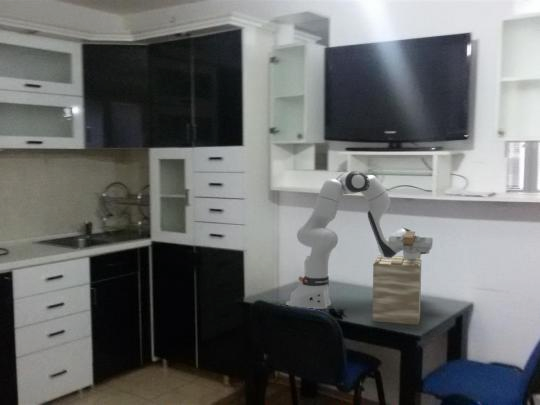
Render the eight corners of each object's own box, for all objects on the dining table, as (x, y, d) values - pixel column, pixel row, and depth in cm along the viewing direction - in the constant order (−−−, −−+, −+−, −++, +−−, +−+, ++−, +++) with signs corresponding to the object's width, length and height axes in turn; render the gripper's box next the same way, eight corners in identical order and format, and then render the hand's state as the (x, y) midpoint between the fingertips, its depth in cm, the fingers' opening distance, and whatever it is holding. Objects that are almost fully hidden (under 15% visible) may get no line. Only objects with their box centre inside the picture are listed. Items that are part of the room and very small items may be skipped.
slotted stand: (418, 324, 245) (419, 263, 243) (372, 320, 251) (373, 261, 249) (420, 314, 260) (421, 257, 258) (376, 311, 266) (377, 255, 264)
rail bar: (412, 246, 247) (412, 237, 247) (403, 245, 248) (403, 237, 248) (414, 239, 266) (415, 231, 266) (406, 239, 267) (406, 231, 267)
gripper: (390, 239, 279) (388, 228, 267) (432, 241, 273) (432, 230, 261) (389, 251, 276) (387, 241, 264) (432, 253, 270) (432, 243, 258)
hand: (410, 235), depth 262 cm, fingers closed on rail bar, 4 cm apart
